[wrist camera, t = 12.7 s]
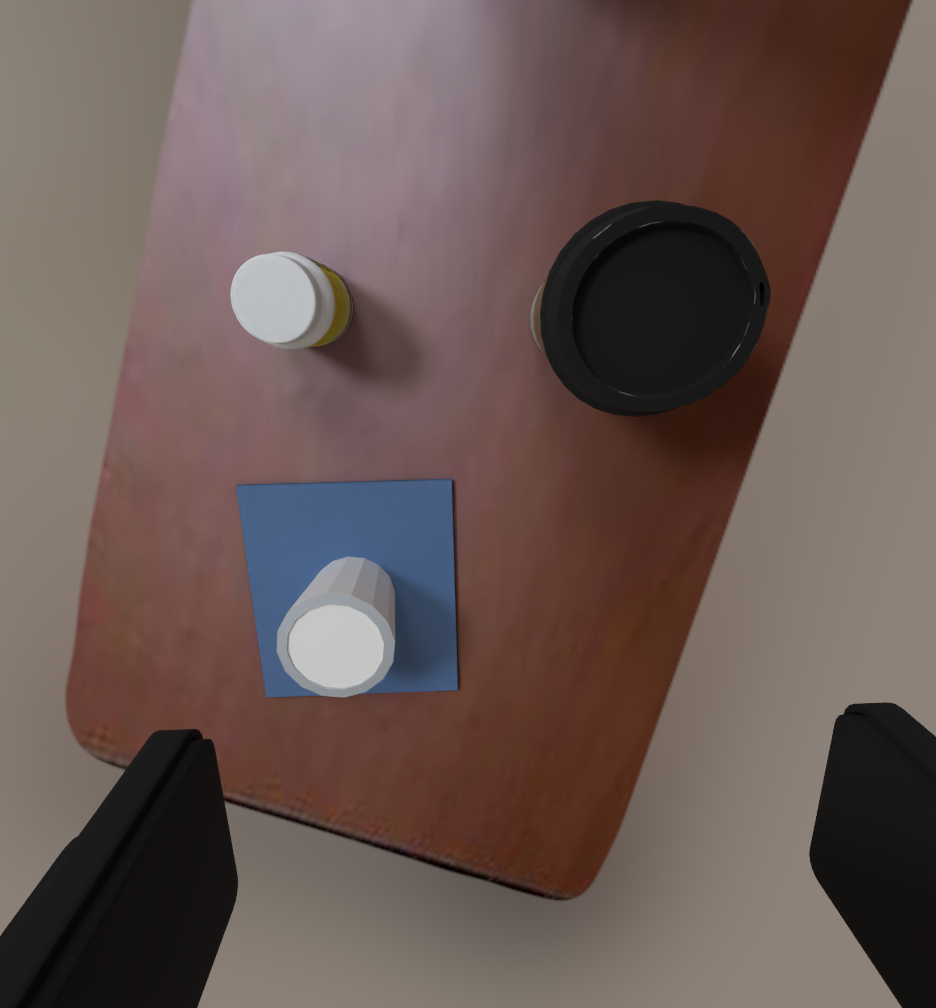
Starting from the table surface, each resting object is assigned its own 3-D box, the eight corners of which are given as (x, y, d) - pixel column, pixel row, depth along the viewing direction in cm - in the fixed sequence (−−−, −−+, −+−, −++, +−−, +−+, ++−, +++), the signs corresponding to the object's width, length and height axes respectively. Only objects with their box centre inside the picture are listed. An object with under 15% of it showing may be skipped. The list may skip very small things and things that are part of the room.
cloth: (237, 484, 38) (235, 486, 38) (451, 478, 39) (451, 480, 38) (267, 694, 43) (266, 697, 43) (457, 687, 43) (457, 690, 43)
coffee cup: (652, 372, 37) (781, 403, 23) (520, 398, 37) (566, 445, 23) (639, 230, 34) (775, 163, 20) (498, 258, 35) (533, 212, 20)
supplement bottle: (349, 261, 34) (319, 241, 26) (358, 343, 36) (332, 349, 28) (267, 265, 34) (212, 247, 26) (279, 348, 36) (231, 355, 28)
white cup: (284, 575, 40) (251, 626, 33) (372, 531, 39) (357, 574, 32) (336, 653, 42) (315, 716, 35) (421, 612, 41) (416, 669, 34)
